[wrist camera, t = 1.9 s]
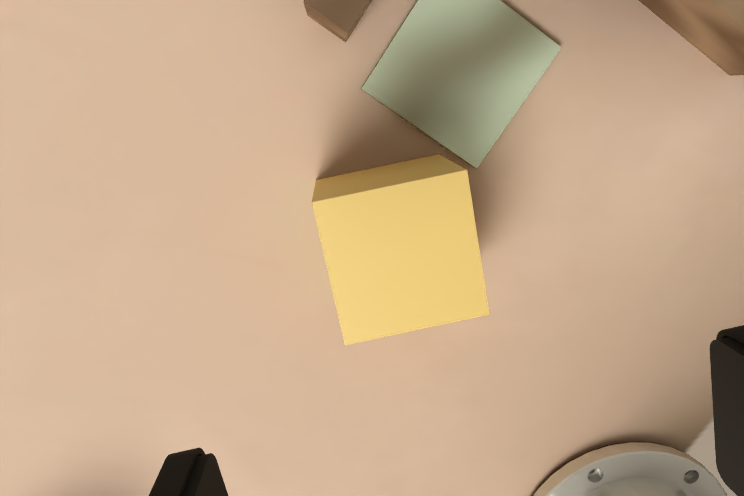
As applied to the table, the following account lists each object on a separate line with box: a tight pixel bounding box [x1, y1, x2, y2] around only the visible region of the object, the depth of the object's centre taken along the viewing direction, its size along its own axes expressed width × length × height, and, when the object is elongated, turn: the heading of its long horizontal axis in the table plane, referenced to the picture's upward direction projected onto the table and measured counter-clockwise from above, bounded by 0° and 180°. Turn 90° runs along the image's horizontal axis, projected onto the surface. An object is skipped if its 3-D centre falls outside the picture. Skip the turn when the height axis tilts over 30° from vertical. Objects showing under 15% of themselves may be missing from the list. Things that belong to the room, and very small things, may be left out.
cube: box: [312, 154, 489, 345], centre depth 25 cm, size 6×6×6 cm
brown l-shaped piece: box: [304, 0, 744, 168], centre depth 24 cm, size 18×12×4 cm
